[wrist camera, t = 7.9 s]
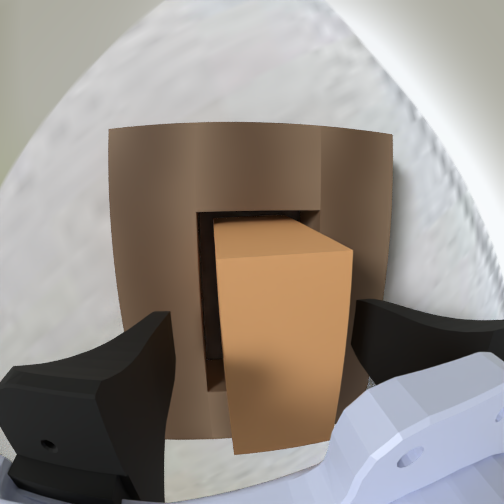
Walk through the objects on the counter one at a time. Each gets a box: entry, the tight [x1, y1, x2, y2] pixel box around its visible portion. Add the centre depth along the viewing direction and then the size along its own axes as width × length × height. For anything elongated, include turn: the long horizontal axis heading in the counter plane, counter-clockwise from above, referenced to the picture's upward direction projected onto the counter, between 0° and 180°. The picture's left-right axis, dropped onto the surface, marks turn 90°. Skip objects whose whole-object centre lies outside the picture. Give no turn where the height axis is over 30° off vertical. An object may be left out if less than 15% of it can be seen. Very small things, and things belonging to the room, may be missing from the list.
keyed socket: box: [108, 122, 393, 440], centre depth 15 cm, size 12×16×3 cm
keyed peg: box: [213, 215, 353, 455], centre depth 12 cm, size 4×7×8 cm, turn 2°
